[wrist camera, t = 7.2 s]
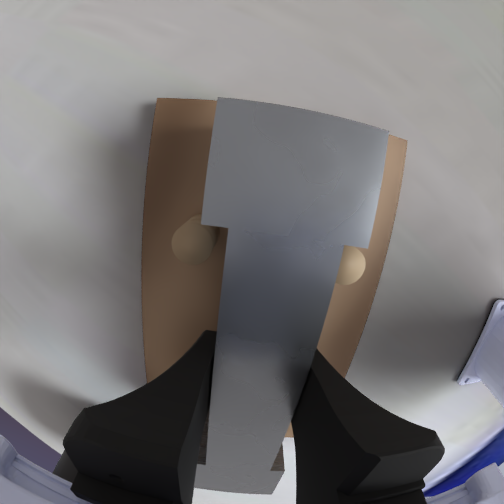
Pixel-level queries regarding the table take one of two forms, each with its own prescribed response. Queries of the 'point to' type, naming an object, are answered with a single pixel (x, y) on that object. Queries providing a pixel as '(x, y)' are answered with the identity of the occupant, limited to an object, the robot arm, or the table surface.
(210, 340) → the robot arm
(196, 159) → the peg rack
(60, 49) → the table surface
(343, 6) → the table surface
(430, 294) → the table surface
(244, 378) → the gray notched long block
